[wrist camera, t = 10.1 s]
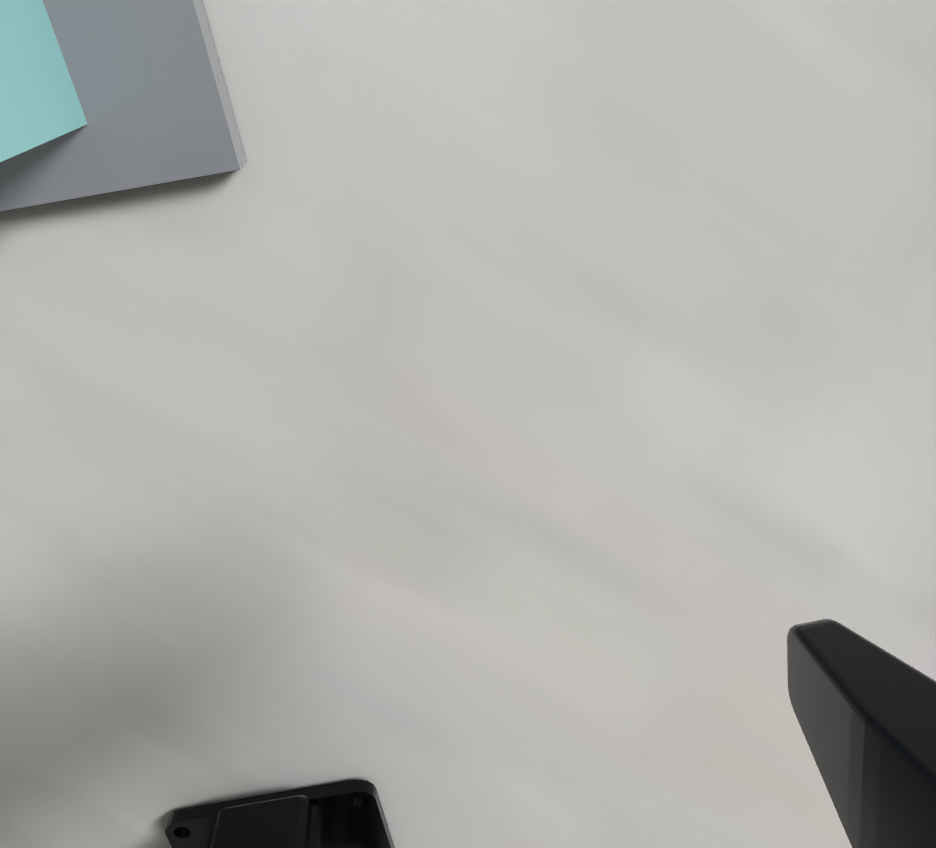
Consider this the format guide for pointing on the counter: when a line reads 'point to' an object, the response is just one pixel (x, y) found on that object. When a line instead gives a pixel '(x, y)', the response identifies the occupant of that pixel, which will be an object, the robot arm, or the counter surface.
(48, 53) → the block
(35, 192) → the coaster
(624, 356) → the counter surface
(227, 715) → the counter surface
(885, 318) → the counter surface
